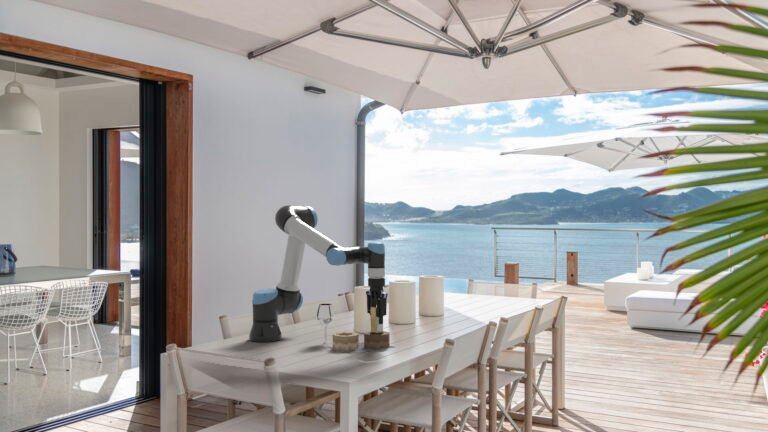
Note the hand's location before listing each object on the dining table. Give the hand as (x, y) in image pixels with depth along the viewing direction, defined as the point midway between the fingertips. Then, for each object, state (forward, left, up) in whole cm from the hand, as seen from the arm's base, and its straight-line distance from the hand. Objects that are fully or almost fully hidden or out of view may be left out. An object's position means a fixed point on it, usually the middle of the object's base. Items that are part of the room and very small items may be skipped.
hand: (376, 330), depth 293 cm
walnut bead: (0, 0, -7) cm, 7 cm away
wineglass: (-13, +22, -8) cm, 27 cm away
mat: (-6, +3, -8) cm, 10 cm away
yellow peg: (0, 0, -1) cm, 1 cm away
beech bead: (-12, +6, -7) cm, 16 cm away
